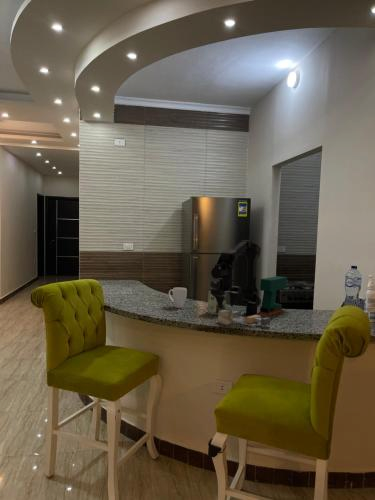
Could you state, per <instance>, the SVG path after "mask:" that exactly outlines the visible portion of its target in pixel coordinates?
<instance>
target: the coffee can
mask: <svg viewBox="0 0 375 500" xmlns="http://www.w3.org/2000/svg"><path fill="white" fill-rule="evenodd" d="M211 289H213V288H211V286H209V287H208V298H207V302H208V303H207V313H208V314H210V315H217V316H218V314H219V311H220V310H226V308H227V307H226V305H227V303H226V302H227V293H224V295H223V296H224V300H223V304H222V308H221V309H219V306H218V303H217V300H216V298H215V297H214V296H212V294H211Z"/></svg>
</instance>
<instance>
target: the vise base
mask: <svg viewBox="0 0 375 500" xmlns="http://www.w3.org/2000/svg"><path fill="white" fill-rule="evenodd" d="M232 312H233V318H232V323H236V324H239V325H240V324H241V325H244V326H247V325H248V327H252V328H255V327H259V326H262V325H261V323H258V322H253V323H247V322H245V317H246V316H242V315H241V311H239V310H233V311H232Z"/></svg>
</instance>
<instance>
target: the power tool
mask: <svg viewBox="0 0 375 500" xmlns="http://www.w3.org/2000/svg"><path fill="white" fill-rule="evenodd" d="M288 281H289V280H288V277H287V276H278V275H276V276H270V277H266V278H265V277H263V278H260V282H259V283H260V285H259V286H260V287H259V290H260V291H263V294H262V300H261V304H260V307H259V311H258V314H259V315H264V316H271V315H273V314H274V315H275V314H278V313H280V312H283V311H282V310H284V308H283V307H282V305H283V304H282V303H281V304H280V303H277V302H276V298H277V296H279V291H280V290H283V289H287V285H288Z"/></svg>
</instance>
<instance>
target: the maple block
mask: <svg viewBox="0 0 375 500" xmlns="http://www.w3.org/2000/svg"><path fill="white" fill-rule="evenodd" d="M217 317H218V318H217V319H218V320H217V322H218V323H219V324H223V325H232V324H233V322H232V318H233V311H231V310H230V311H229V310H220V311H219V314H218V315H217Z"/></svg>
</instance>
